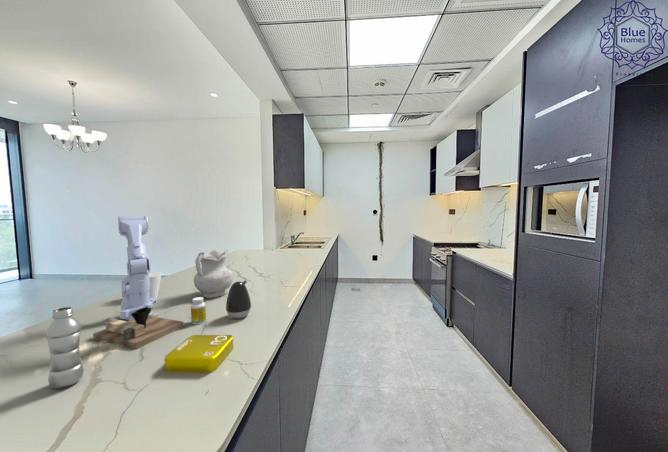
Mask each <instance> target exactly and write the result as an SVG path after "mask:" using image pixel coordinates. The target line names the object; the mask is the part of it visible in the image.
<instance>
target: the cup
mask: <svg viewBox="0 0 668 452" xmlns="http://www.w3.org/2000/svg"><path fill="white" fill-rule="evenodd" d="M147 273H148V274H149V281H150V298H153V297H157V298H158V294H159V290H160V284H161V279H162V274H163V273H162V272H160V271H158V272H157V271H156V272H155V271H154V272H150V273H149V272H147Z"/></svg>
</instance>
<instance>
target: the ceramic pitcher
mask: <svg viewBox="0 0 668 452" xmlns="http://www.w3.org/2000/svg"><path fill="white" fill-rule="evenodd" d="M228 250H229V249H224V251H221V250H217V249H213V250H211V251H210V252H209V253H208V254H205V252H202V251H201V252H199V253H198V254H197V256H196V259H195V261H194V262H195V269H196V274H194V278H193V284H194V286H195V288H196V289H197V291H199V292H201V293H203V294H202V297H203V298H204V297H205V299H207V298H208V299H214V298H219V296H220V297H223V296H224V295H226V294H227V293H226V292H225V291H227V290H228V289H230V288H231V286H232V284H233V280H234V274H233V272H232V271H231V270H230V269H229V268H227V267H226V264H225V263H226V262H225V261H226V259H227V256H228V253H229V252H228Z"/></svg>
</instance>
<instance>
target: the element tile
mask: <svg viewBox="0 0 668 452" xmlns="http://www.w3.org/2000/svg"><path fill="white" fill-rule="evenodd" d="M233 350H234V336H233V335H230V334H192V335H190V336H189V337H187V338H186V339H185V340H183V341H182V342H181V343H180V344H179V345H177V346H175V348H174V349H172V350H171V351H170V352H169V353H168V354H166V355H165V356H164V371H165V372H166V373H187V374H188V373H197V374H199V373H200V374H201V373H204V374H205V373H206V374H208V373H209V374H210V373H212V372H215V371H217V369H219V367H220V366H221V365H222V364H223V362H224V361H225V360H226V359H227V358H228V357H229V355H230V354H231V352H232V351H233Z"/></svg>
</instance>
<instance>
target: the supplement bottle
mask: <svg viewBox="0 0 668 452" xmlns="http://www.w3.org/2000/svg"><path fill="white" fill-rule="evenodd" d="M206 311H207V310H206V303H205V302H204V297H203V296H198V297H194V298H192V304H191V306H190V320H191V324H193V325H200V324H204V323H205V322H206V321H207V312H206Z"/></svg>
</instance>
